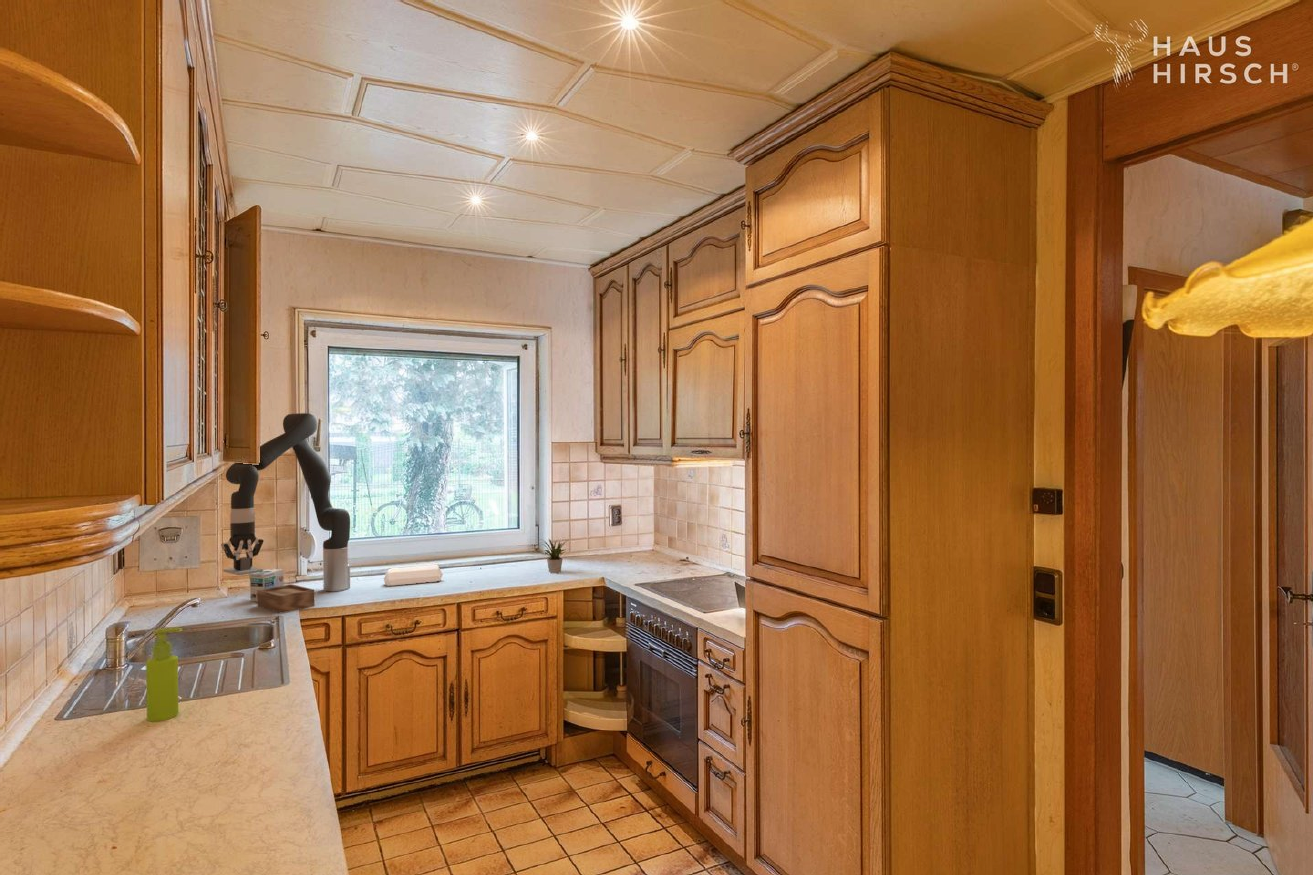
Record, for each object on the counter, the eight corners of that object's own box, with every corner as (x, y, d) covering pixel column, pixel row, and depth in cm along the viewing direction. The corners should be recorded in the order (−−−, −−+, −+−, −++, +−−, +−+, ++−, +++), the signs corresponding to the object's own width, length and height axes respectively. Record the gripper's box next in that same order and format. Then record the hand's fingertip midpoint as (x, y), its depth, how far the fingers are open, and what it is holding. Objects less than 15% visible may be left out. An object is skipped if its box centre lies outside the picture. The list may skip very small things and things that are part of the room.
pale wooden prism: (440, 569, 312) (382, 574, 302) (442, 563, 306) (383, 568, 296) (442, 585, 308) (383, 590, 298) (444, 580, 302) (384, 585, 293)
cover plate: (246, 567, 256) (246, 554, 256) (263, 571, 249) (263, 558, 249) (223, 571, 250) (223, 558, 250) (239, 575, 243) (239, 561, 243)
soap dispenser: (178, 719, 159) (177, 630, 159) (142, 723, 157) (141, 633, 157) (187, 709, 164) (186, 624, 164) (153, 712, 163) (151, 626, 162)
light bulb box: (264, 602, 268) (264, 574, 268) (249, 601, 270) (249, 573, 269) (284, 595, 279) (284, 568, 279) (270, 595, 280) (269, 568, 280)
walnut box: (291, 599, 272) (291, 584, 272) (314, 605, 262) (314, 589, 262) (257, 606, 262) (257, 590, 262) (280, 612, 252) (280, 596, 252)
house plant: (530, 574, 318) (530, 538, 317) (544, 568, 331) (544, 533, 331) (559, 576, 313) (559, 539, 313) (572, 570, 327) (572, 535, 326)
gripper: (258, 518, 257) (258, 565, 258) (216, 522, 246) (216, 571, 246) (268, 519, 253) (268, 567, 253) (226, 523, 242) (226, 573, 242)
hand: (242, 569), depth 250 cm, fingers closed on cover plate, 3 cm apart
